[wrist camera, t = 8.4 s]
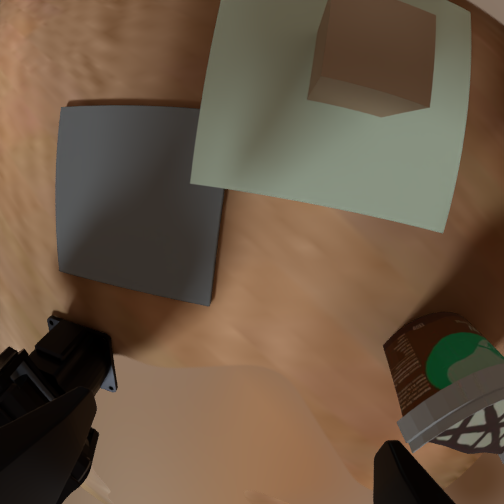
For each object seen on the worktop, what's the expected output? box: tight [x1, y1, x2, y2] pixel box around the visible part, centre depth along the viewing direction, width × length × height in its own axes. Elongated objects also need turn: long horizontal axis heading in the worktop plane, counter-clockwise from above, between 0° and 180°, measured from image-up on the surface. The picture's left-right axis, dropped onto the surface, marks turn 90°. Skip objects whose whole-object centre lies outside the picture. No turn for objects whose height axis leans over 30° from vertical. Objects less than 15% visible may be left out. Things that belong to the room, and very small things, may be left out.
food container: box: [383, 312, 504, 464], centre depth 15 cm, size 12×6×10 cm, turn 62°
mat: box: [56, 105, 225, 306], centre depth 19 cm, size 12×12×1 cm
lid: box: [190, 0, 471, 233], centre depth 9 cm, size 11×11×5 cm
